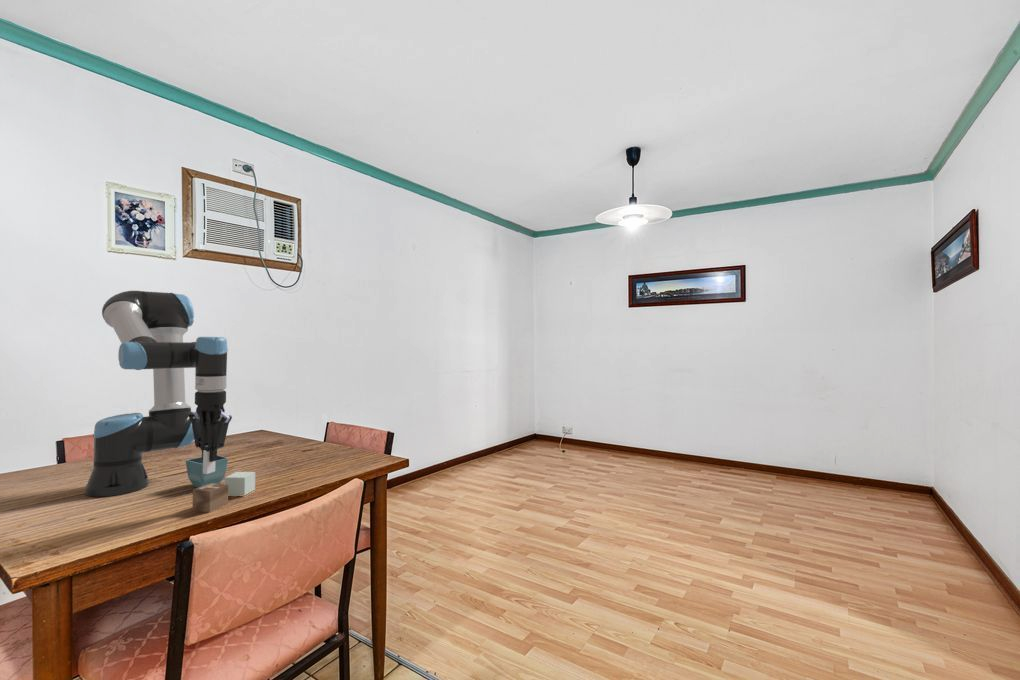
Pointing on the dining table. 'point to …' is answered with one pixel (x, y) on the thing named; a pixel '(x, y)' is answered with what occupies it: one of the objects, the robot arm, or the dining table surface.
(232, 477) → the grey-green block
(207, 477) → the flower pot
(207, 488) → the walnut block
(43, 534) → the dining table surface
